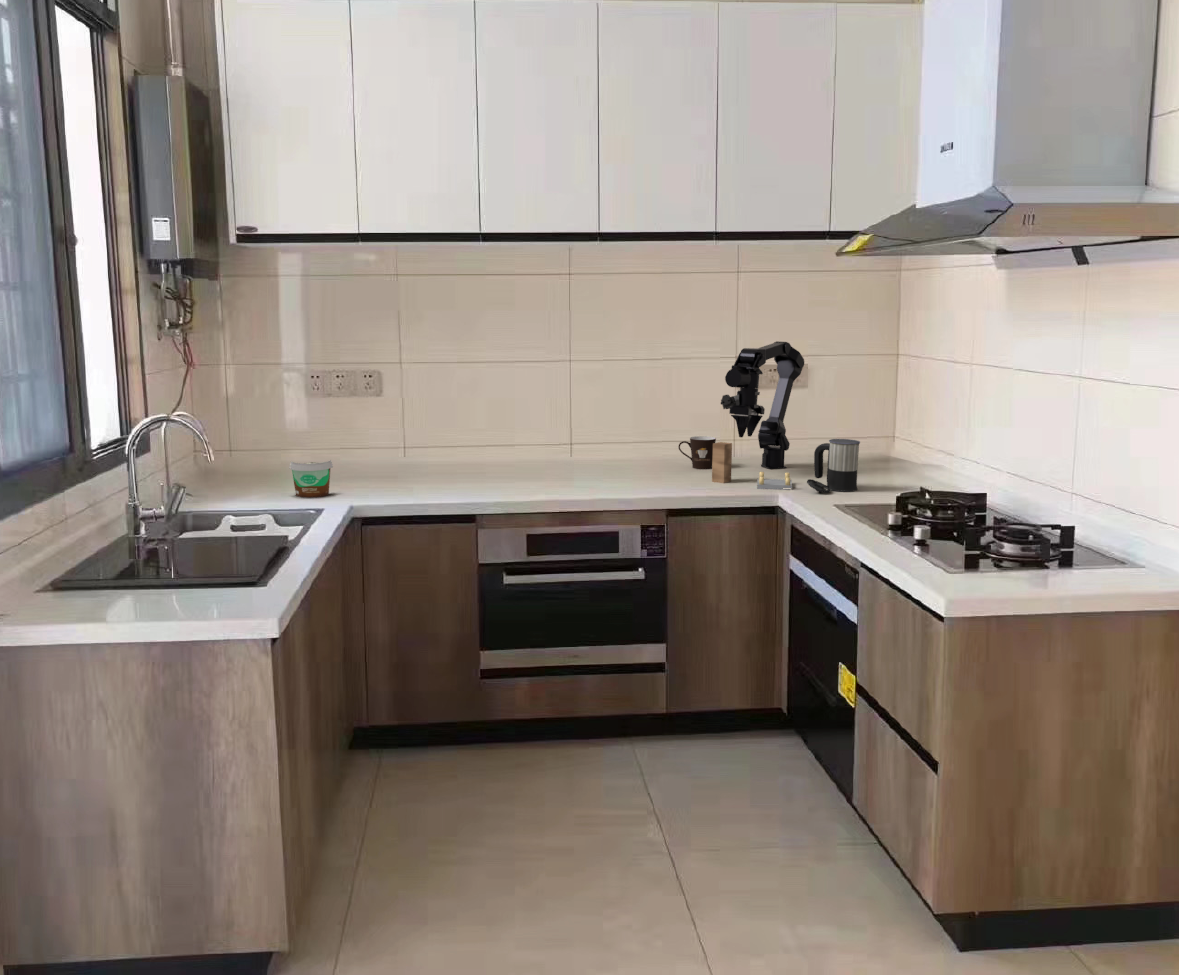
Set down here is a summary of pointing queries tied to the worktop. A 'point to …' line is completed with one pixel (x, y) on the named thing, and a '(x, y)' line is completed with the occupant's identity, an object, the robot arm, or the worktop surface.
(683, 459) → the worktop surface
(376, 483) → the worktop surface
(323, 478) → the food container
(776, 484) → the peg stand
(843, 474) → the milk frother
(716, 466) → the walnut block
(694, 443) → the coffee mug
